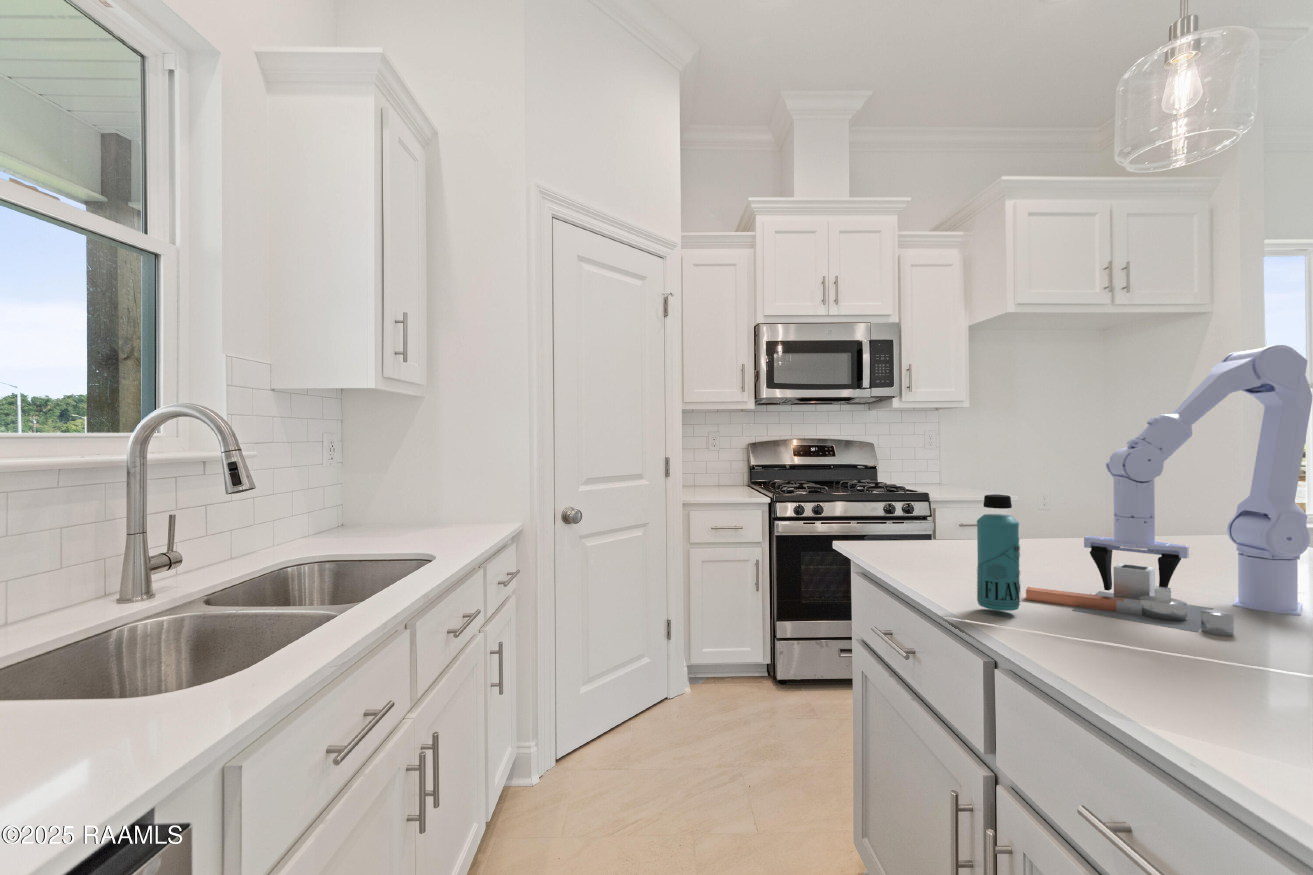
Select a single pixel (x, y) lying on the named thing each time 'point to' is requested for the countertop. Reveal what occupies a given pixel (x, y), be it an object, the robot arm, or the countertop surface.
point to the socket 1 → (1133, 581)
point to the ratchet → (1118, 603)
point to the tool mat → (1189, 625)
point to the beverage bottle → (998, 557)
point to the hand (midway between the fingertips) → (1134, 593)
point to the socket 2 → (1217, 623)
